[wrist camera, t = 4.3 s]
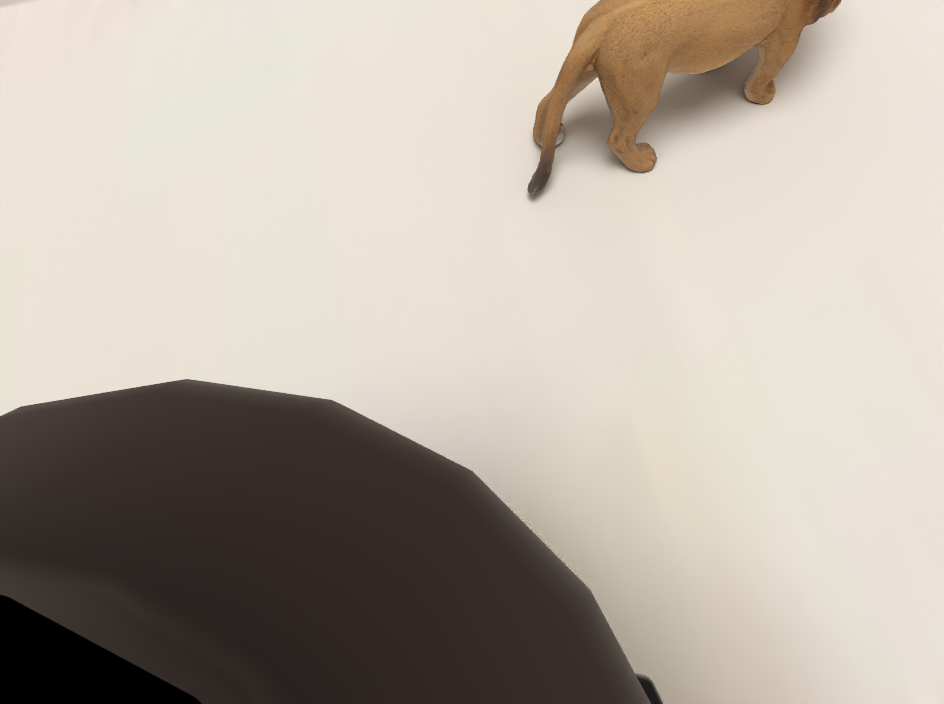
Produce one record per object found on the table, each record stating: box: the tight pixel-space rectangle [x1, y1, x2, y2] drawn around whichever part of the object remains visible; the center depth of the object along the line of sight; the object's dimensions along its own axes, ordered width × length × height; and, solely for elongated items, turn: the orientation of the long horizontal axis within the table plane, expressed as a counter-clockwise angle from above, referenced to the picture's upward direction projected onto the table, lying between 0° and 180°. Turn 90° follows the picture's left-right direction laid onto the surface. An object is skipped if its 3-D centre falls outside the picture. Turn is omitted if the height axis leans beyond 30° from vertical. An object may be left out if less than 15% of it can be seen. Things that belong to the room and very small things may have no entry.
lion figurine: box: [528, 0, 841, 195], centre depth 22 cm, size 15×5×9 cm, turn 127°
